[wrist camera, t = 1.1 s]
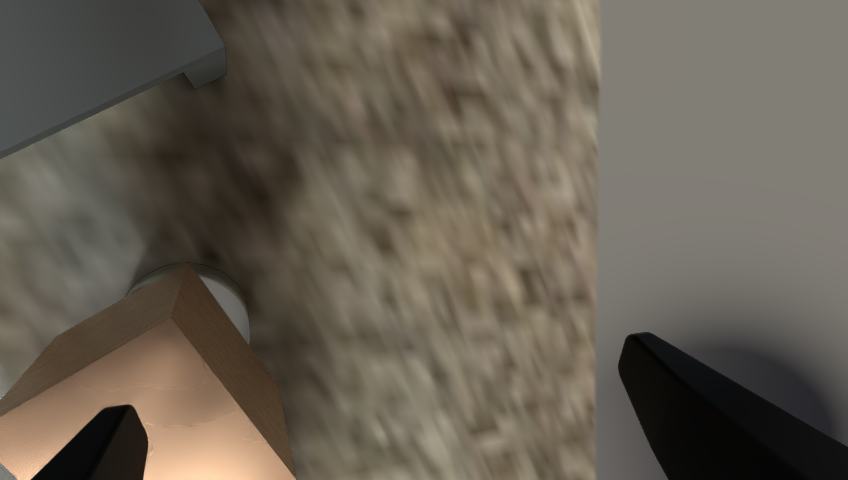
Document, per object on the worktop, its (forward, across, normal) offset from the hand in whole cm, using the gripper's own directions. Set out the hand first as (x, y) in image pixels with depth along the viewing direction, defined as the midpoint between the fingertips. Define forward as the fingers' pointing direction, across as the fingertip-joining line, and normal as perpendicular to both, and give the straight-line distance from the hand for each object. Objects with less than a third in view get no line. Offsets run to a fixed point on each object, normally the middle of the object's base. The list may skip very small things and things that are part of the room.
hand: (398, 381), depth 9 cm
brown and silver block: (+9, +7, +6) cm, 13 cm away
